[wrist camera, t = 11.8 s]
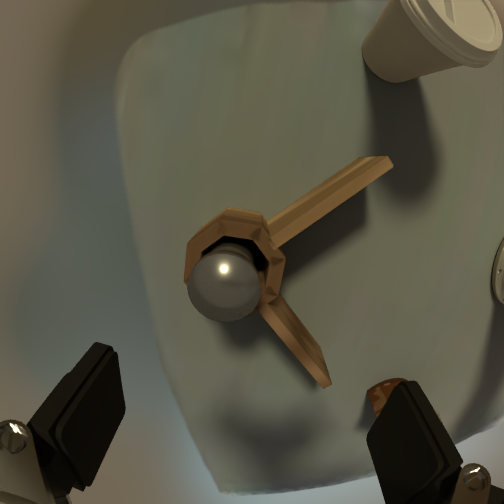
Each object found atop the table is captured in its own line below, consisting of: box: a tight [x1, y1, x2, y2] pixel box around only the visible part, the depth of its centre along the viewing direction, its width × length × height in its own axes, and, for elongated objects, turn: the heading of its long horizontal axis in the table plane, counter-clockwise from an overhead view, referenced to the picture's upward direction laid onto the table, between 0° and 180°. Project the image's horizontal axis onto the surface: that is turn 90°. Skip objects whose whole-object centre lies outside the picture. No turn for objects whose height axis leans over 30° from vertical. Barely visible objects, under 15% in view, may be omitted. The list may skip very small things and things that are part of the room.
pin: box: [187, 235, 261, 322], centre depth 25 cm, size 5×5×11 cm
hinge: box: [184, 156, 394, 389], centre depth 27 cm, size 20×20×7 cm
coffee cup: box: [362, 0, 502, 83], centre depth 17 cm, size 10×10×15 cm
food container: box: [367, 378, 441, 420], centre depth 31 cm, size 12×6×10 cm, turn 49°
